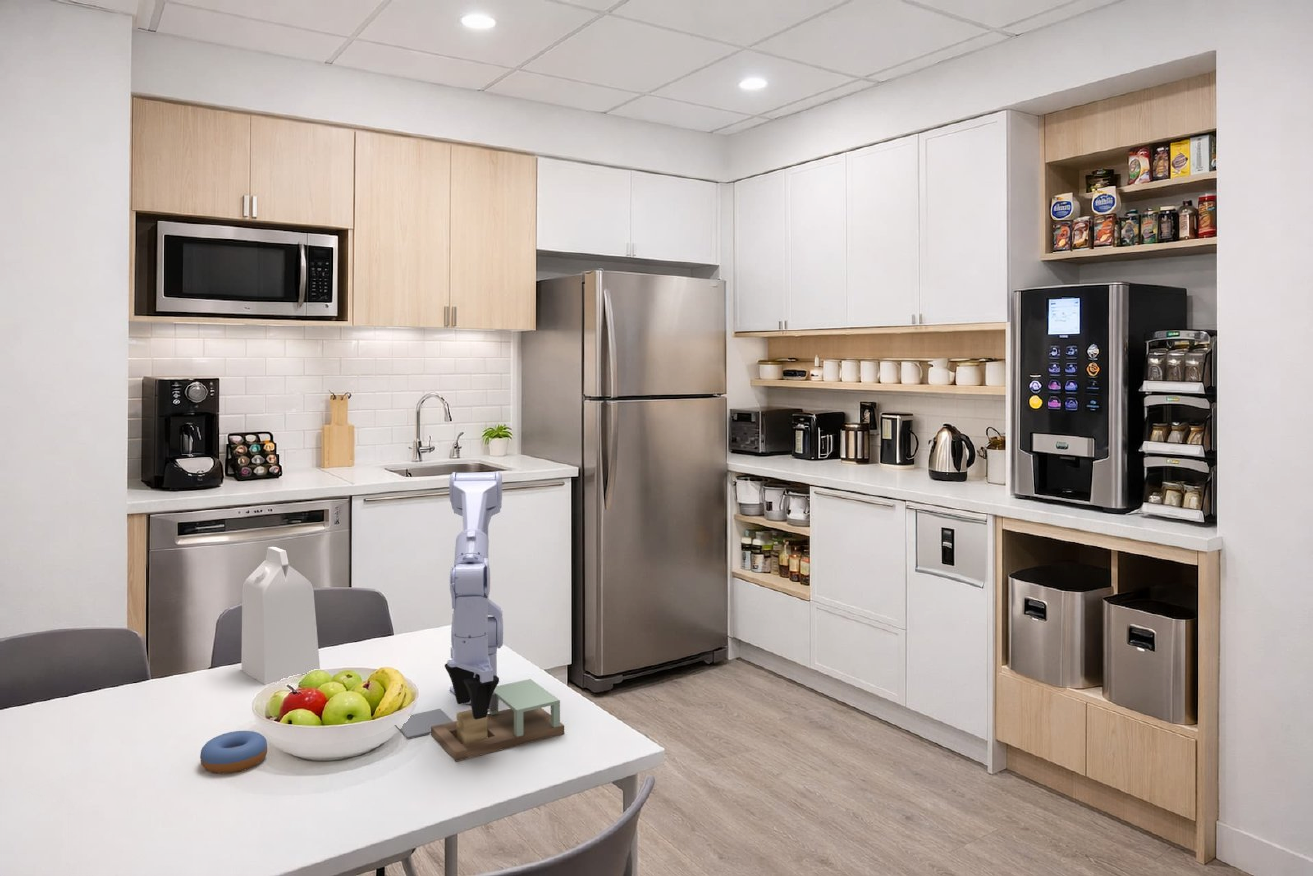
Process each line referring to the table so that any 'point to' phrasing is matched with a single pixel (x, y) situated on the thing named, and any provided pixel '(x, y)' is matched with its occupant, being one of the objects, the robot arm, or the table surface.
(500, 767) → the table surface
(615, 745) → the table surface
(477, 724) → the block
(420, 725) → the mat
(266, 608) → the milk
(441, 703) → the table surface
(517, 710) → the cover
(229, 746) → the doughnut
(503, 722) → the board
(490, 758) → the table surface
